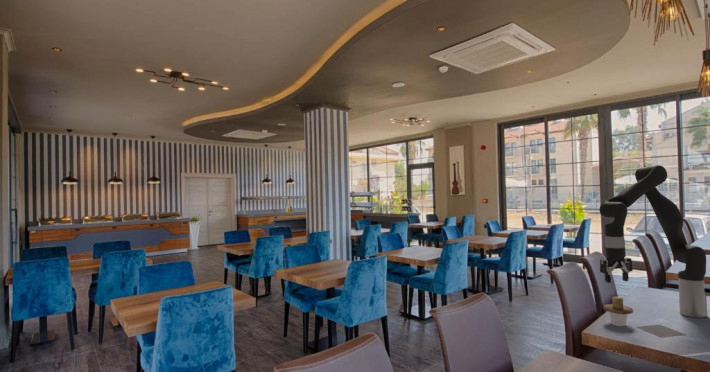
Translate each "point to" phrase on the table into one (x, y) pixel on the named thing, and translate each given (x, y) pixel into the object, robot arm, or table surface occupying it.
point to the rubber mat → (661, 331)
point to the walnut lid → (618, 306)
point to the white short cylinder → (618, 319)
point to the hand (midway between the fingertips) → (616, 281)
